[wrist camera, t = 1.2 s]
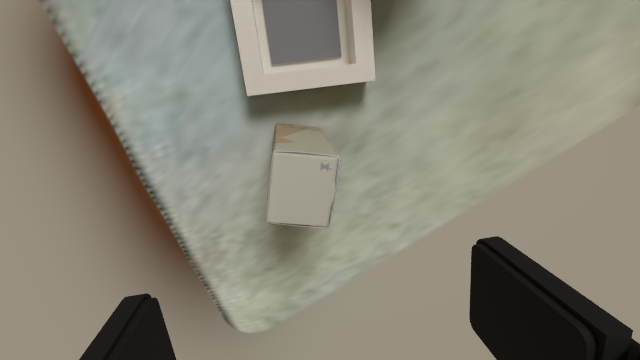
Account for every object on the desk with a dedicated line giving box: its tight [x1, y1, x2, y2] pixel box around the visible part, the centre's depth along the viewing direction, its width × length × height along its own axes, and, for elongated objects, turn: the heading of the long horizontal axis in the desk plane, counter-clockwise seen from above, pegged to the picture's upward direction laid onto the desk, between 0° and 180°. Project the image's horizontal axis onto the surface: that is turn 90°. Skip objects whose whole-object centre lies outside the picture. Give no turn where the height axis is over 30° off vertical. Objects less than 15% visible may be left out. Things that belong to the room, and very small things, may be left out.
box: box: [266, 124, 340, 229], centre depth 26 cm, size 5×4×11 cm
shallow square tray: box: [230, 0, 375, 96], centre depth 26 cm, size 10×10×3 cm
